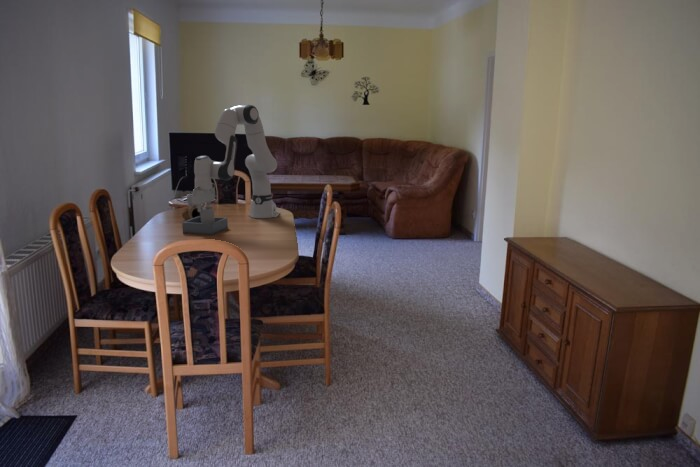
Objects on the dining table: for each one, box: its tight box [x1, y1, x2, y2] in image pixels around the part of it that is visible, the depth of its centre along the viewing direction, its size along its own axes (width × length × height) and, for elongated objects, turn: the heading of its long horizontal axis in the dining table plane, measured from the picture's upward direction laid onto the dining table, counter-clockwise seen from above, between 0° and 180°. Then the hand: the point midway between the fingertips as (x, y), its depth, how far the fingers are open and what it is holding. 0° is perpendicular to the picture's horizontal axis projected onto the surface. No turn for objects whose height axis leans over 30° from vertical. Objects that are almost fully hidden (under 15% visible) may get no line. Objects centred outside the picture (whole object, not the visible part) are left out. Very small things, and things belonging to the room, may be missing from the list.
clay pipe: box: [181, 205, 200, 221], centre depth 336 cm, size 19×11×15 cm
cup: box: [186, 193, 206, 208], centre depth 359 cm, size 10×9×12 cm
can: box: [200, 206, 216, 224], centre depth 309 cm, size 8×8×12 cm
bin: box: [181, 216, 229, 236], centre depth 311 cm, size 18×18×6 cm
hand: (203, 210), depth 309 cm, fingers open, 7 cm apart
